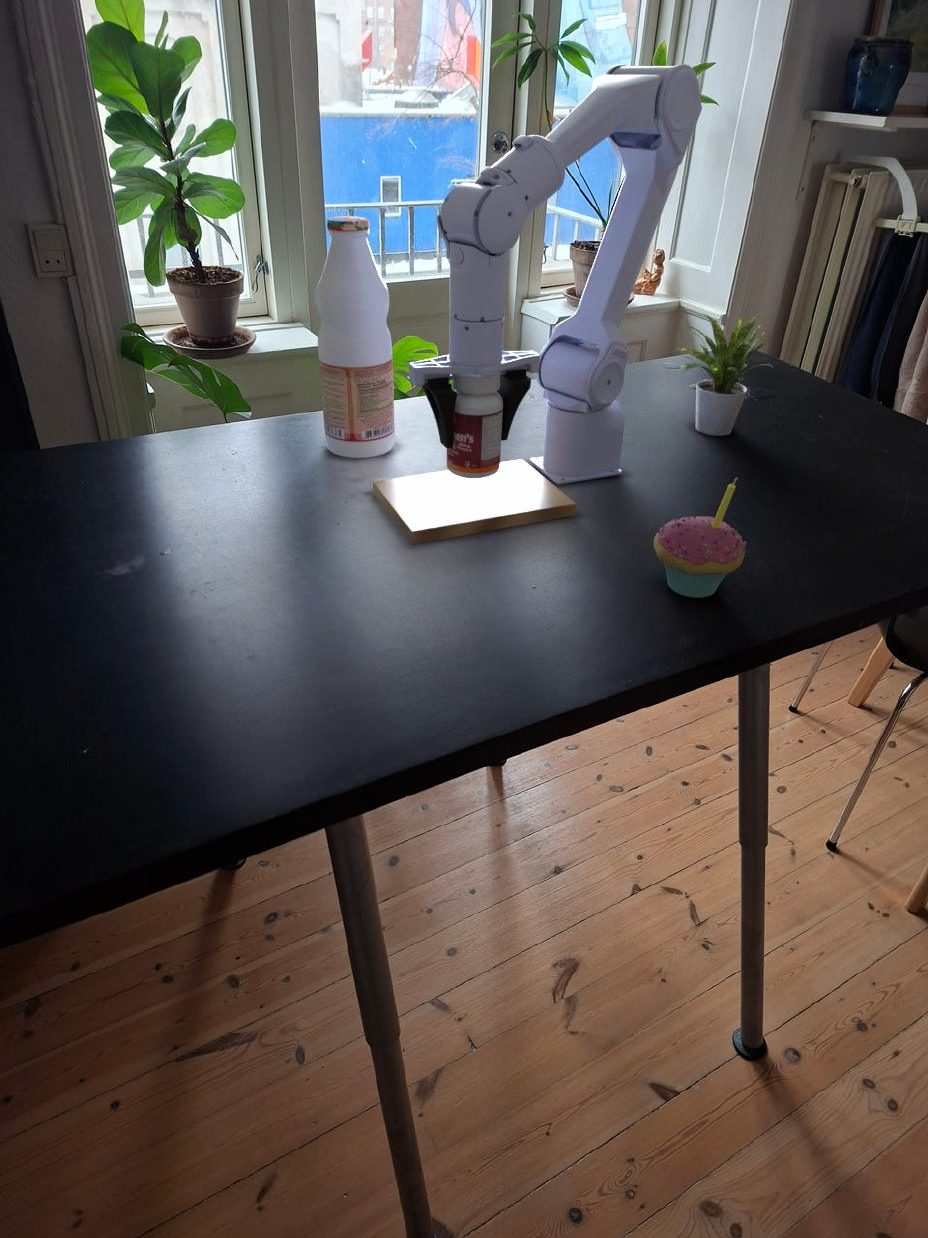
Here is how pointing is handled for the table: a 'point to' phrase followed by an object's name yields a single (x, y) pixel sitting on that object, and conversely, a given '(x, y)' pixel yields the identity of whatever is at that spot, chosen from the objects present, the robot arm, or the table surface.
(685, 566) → the cupcake
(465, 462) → the pill bottle
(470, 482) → the oak board
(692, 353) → the house plant
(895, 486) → the table surface
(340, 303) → the fruit juice
